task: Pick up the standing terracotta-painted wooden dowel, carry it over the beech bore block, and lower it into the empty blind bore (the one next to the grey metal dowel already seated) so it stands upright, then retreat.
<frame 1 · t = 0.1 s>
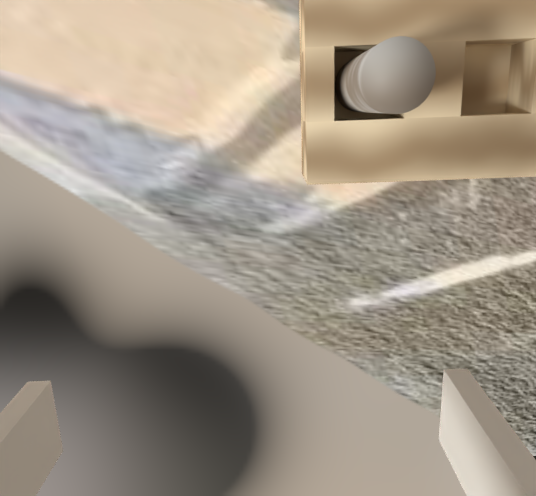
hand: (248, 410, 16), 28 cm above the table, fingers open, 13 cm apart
bore block: (410, 84, 40), on the table
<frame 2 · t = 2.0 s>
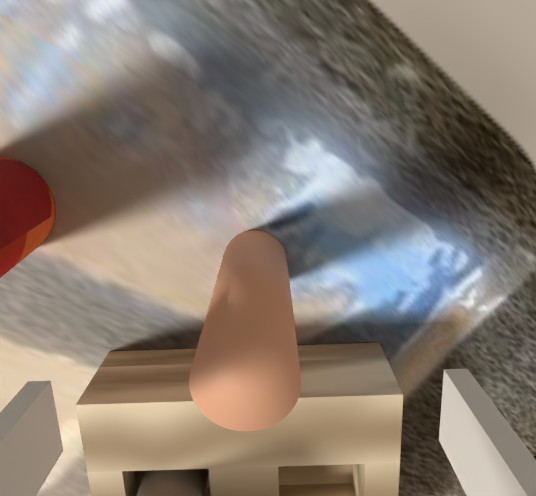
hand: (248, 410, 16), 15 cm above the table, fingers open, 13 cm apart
dowel: (255, 260, 31), on the table
coffee cup: (8, 206, 30), on the table
bore block: (249, 435, 35), on the table
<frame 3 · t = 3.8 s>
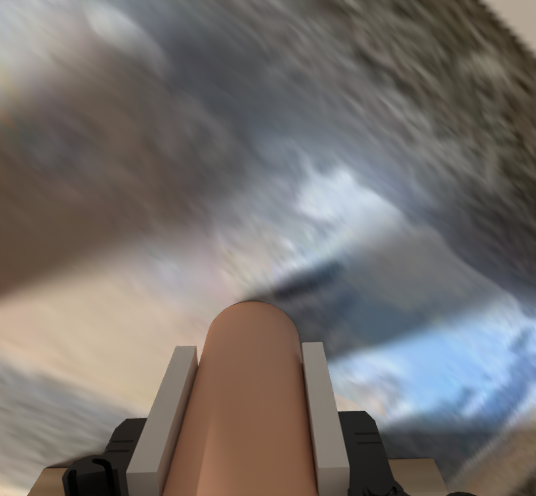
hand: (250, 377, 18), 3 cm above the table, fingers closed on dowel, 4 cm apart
dowel: (253, 344, 21), on the table, touching gripper
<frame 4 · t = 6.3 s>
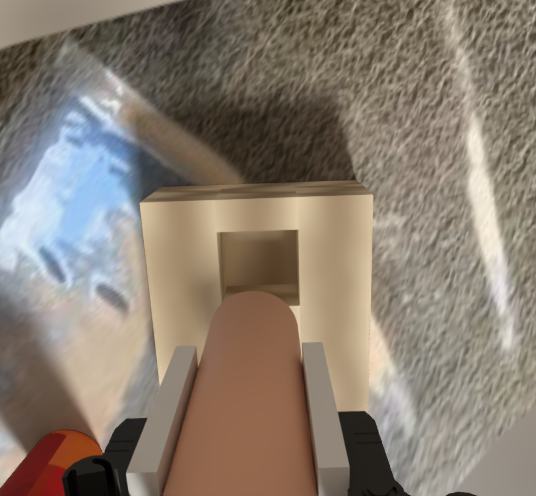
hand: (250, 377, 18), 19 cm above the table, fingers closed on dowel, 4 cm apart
dowel: (254, 332, 22), point 15 cm above the table, touching gripper
coffee cup: (71, 457, 42), on the table
bore block: (263, 300, 37), on the table
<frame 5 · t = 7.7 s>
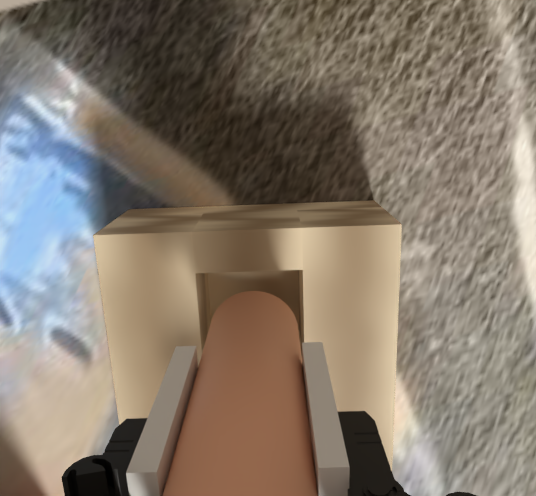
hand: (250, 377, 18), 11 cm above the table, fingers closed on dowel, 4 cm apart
dowel: (254, 332, 22), point 7 cm above the table, touching gripper
bore block: (257, 347, 30), on the table
when the fingers open (7 cm above the table, at t = 8.8 s): dowel stays where it is, resting on bore block.
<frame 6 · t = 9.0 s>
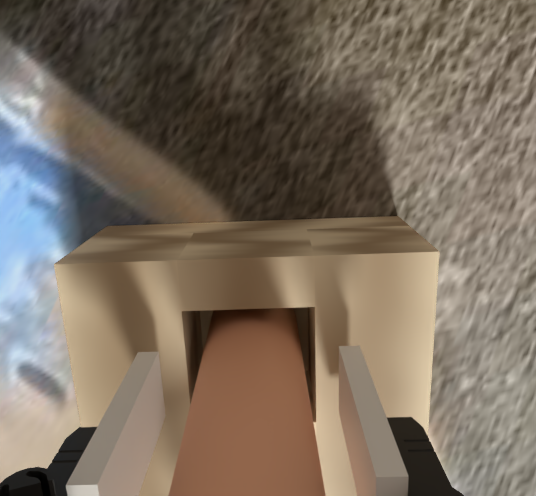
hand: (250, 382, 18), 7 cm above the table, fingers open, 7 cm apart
dowel: (253, 325, 23), point 2 cm above the table, touching bore block
bore block: (259, 386, 26), on the table
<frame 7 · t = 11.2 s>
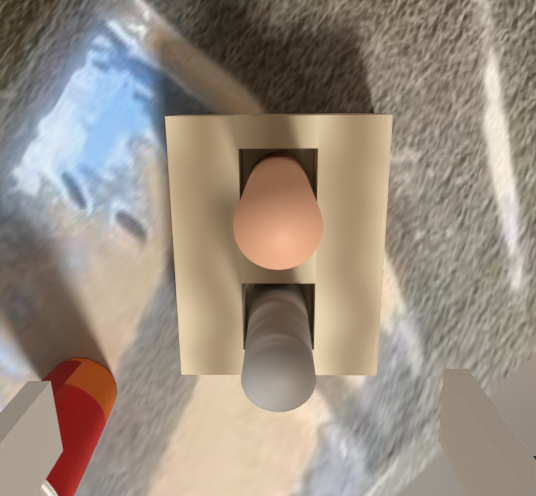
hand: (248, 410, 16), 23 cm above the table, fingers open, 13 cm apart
dowel: (277, 179, 35), point 2 cm above the table, touching bore block
coffee cup: (85, 386, 43), on the table
bore block: (278, 232, 38), on the table
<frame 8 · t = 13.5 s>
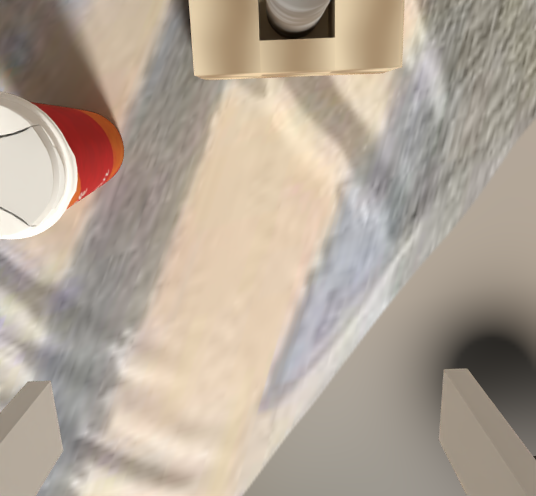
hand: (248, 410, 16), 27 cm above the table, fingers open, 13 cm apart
coffee cup: (90, 148, 40), on the table
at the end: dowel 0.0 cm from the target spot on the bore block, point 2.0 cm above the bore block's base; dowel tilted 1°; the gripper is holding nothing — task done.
